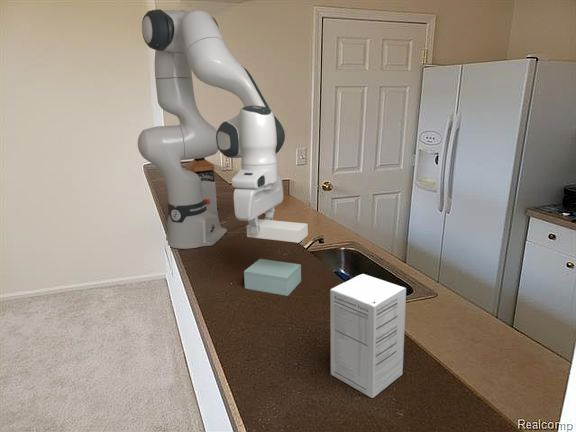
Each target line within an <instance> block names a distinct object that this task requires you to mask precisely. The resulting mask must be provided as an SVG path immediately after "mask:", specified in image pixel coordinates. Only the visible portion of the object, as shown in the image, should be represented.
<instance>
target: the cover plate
mask: <svg viewBox="0 0 576 432" xmlns="http://www.w3.org/2000/svg"><path fill="white" fill-rule="evenodd" d="M257 223H258V225H260V232H258V233H257V234H254V233H251V226H250V224H249V223H248V224H247V225H246V237H247V238H254V239H263V240H270V241H271V240H273V241H280V242H281V241H282V242H289V243H290V242H291V243H297V244H298V243H301V242H302V241H303V240H304V239H305V238H306V237H307V236H309V227H308V226H309V225H308V224H309V223H304V222H303V223H302V222H293V221H284V220H281V221H280V220H274V219H273V220H264V219H262V218H261V219H260V218H258V220H257Z"/></svg>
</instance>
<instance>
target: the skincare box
mask: <svg viewBox="0 0 576 432" xmlns="http://www.w3.org/2000/svg"><path fill="white" fill-rule="evenodd" d="M201 186H202V198H203V200H204V199H210V201H211V202H210V205H207V204H205V205H206V208H207V210H208V211H210V212H211V213H212V214H214V215H216V216H217V217H218V218H219V214H218V210H217V203H218V201H217V200H218V199H217V191H216V181H214V182H211V181H201Z"/></svg>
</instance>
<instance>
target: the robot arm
mask: <svg viewBox="0 0 576 432" xmlns="http://www.w3.org/2000/svg"><path fill="white" fill-rule="evenodd" d="M141 32H142V37H143V40H144V42H145V44H146V45H147V46H148V47H149V48H150V49H152V50H155V51H154V78H155V81H154V82H155V89H156V98H157V103H158V106H159V107H160V109H162V110H163V111H165V112H167V113H169V114H170V115H173V116H175V117H176V118H177V119H178V121H179V124H175V125H160V126H154V127H153V126H152V127H149V128H147V129H143V130H142V131H141V132H140V133H139V135H138V139H137V148H138V151H139V153H140V155H141V157H142V158H143V159H145V160H146V161H147V162H149V163H151V164H153V166H155V167H156V168H157V169H158V171H159V172H160V174H161V175H162V177H163V180H164V182H165V187H166V192H167V201H168V202H167V205H166V206H167V208H166V209H167V214H168V217H167V235H166V236H165V240H166V241H167V245H168V246H169V247H171V248H173V249H180V250H181V249H183V250H184V249H186V250H187V249H196V248H201V247H210V246H214V245H215V244H216V243H217V242H218V241H220V240H221V238H222V237H223V236H225V235H226V234H225V233H226V232H227V233H228V229H226V228H224V227H221V225H220V220H219V216H218V217H217V216H216V215H214V214H212V213H211V212H210V211H208V210H207V208H206V205H205V204H207V205H210V202H211V201H210V199H204V200H203V198H202V186H201V179H200V177H199V176H198V175H197V174H196V173H194V172H192V171H190V170H187V169H186V168H183V167H182V161H185V160H194V159H198V158H205V159H206V158H208V157H211V156H213V155H216V154H217V153H218V151H219V152H220V153H221V154H222V155H223V156H224V157H226V158H229V159H238V158H239V159H240V158H241V160H240V165H241V167H240V168H239V170H238V172H237V173H236V174H235V175H234V176H233V177H232V178H231V187H232V188H235V189H234V191H233V195H232V196H233V208H234V209H233V210H234V215H235V218H236V219H237V220H238V221H244V222H248V224H250V226H251V233H254V234H257V233H258V232H260V225H258V223H257V220H258V219H259V217H260V216H261V215H263V214H264V213H265V217H264V220H274V218H273V217H274V213H275V210H276V209H275V207H276V206H278V205H281V203H283V200H284V187H283V179H282V177H281V176H280V175H279V172H278V171H279V170H278V169H279V168H278V167H279V166H278V165H279V164H278V163H279V162H278V158H277V153H279V152H280V150H281V149H282V147H283V145H284V143H285V141H286V133H285V132H286V131H285V130H284V129H285V128H284V127H283V125H282V123H281V122H280V121H279V119H278V118H277V117H276V116H275V114H274V113H273V110H272V109H271V108H270V106H269V104H268V103H267V101H266V99H265V98H264V95H263V94H262V92H261V90H260V89H259V87H258V85H257V83H256V81H255V79H254V78H253V76H252V75H251V74H250V72H249V71H248V69H247V68H245V66H243V65H242V64H241V63H240V62H238V60H237V59H236V58H235V57H234V56H233V54H232V52H231V51H230V49H229V48H228V45H227V44H226V43H227V42H226V41H225V38H224V36H223V33H222V31H221V29H220V27H219V24H218V22H217V20H216V19H215V18H214V17H213V16H212V15H211V14H210V13H208V11H205V10H201V9H193V10H191V11H189V10H183V9H181V10H177V9H175V10H172V9H169V10H168V9H167V10H162V9H161V8H160V9H152V10H148V11H147V12H146V13H145V14H144V15H143V18H142V22H141ZM193 74H194V76H195V78H196V79H198V80H199V81H201V83H204V84H205V85H209V86H211V87H214V88H219V89H222V90H224V91H227V92H230V93H231V94H233V95H235V96H236V97H237V98H238V99H239V100H240V101H241V102H242V105H243V107H241V108H240V110H239V112H238V114H237V115H236V116H235V117H232V118H230V119H228V120H226V121H223V122H221V124H220V125H219V127H218V128H217V129H216V127H214V126H213V125H212V124H210V123H209V122H208V121H207V120H206V119H205V118H204V117H203V115H202V114H201V112H200V111H199V109H198V106H197V102H196V99H195V98H196V97H195V91H194V83H193V81H194V80H193ZM224 234H225V235H224Z"/></svg>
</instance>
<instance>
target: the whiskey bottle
mask: <svg viewBox="0 0 576 432" xmlns="http://www.w3.org/2000/svg"><path fill="white" fill-rule="evenodd" d="M185 169H187V170H190V171H192V172H194V173H196V174H197V175H198V176H199V177H200V179H201V181H211V182H215V175H214V170H215V164H214V163H211V162H210V161H208V160H207V159H206V157H205V158H198V159H191V161H189V162H188V163H186V164H185ZM217 208H218V209H219V205H218V202H217Z"/></svg>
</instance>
